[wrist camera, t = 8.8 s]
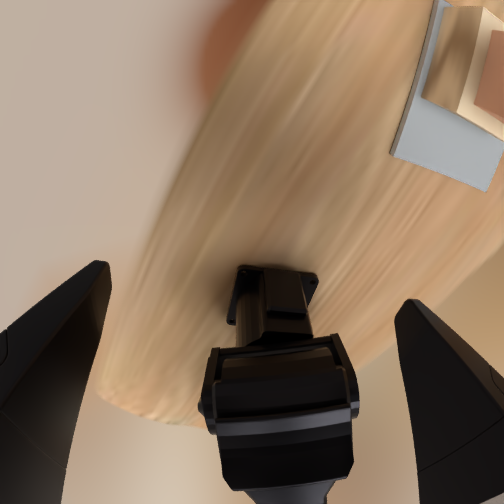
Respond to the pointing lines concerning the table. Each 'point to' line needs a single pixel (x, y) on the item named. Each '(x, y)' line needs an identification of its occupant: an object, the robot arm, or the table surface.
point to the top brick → (493, 79)
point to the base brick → (462, 65)
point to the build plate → (443, 129)
